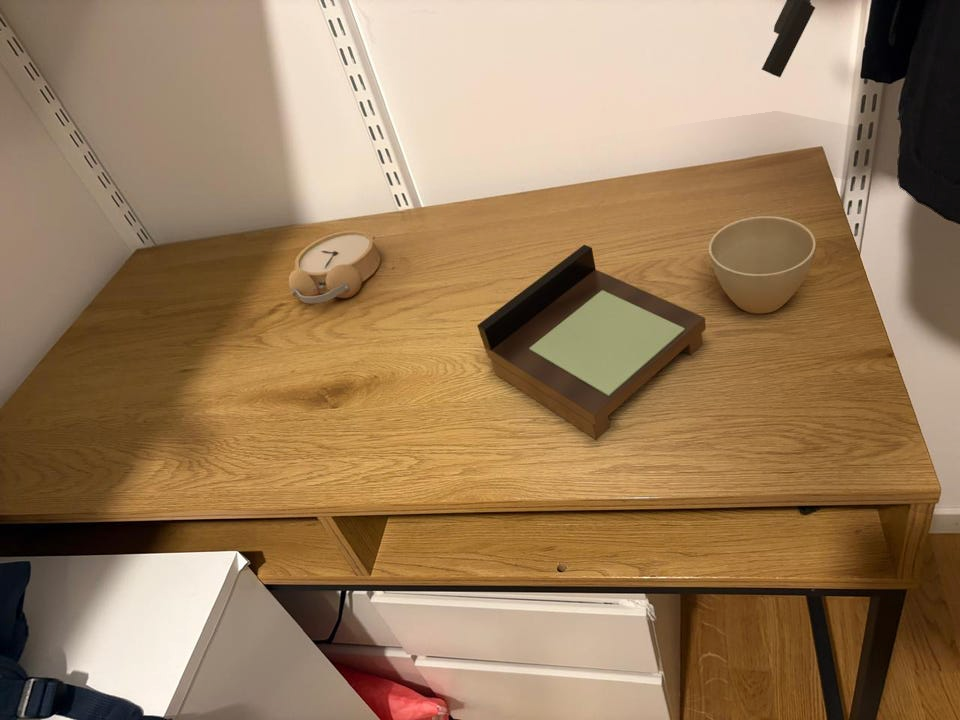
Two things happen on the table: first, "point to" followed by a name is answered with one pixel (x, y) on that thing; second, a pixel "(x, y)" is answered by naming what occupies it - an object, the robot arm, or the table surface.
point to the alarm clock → (334, 266)
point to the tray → (585, 340)
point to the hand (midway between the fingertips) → (834, 97)
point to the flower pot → (761, 261)
